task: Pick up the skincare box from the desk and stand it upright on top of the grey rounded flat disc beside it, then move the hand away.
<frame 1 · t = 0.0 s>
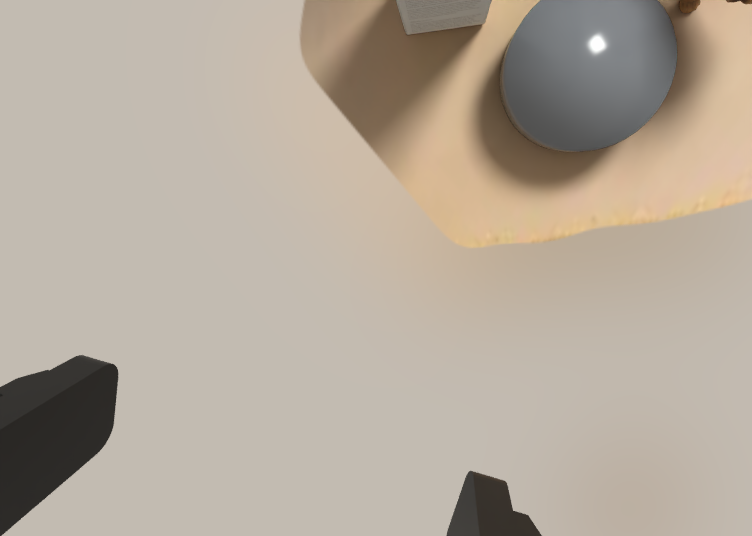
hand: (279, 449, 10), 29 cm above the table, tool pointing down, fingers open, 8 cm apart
grey rounded flat disc: (575, 75, 34), on the table
skincare box: (442, 1, 34), on the table
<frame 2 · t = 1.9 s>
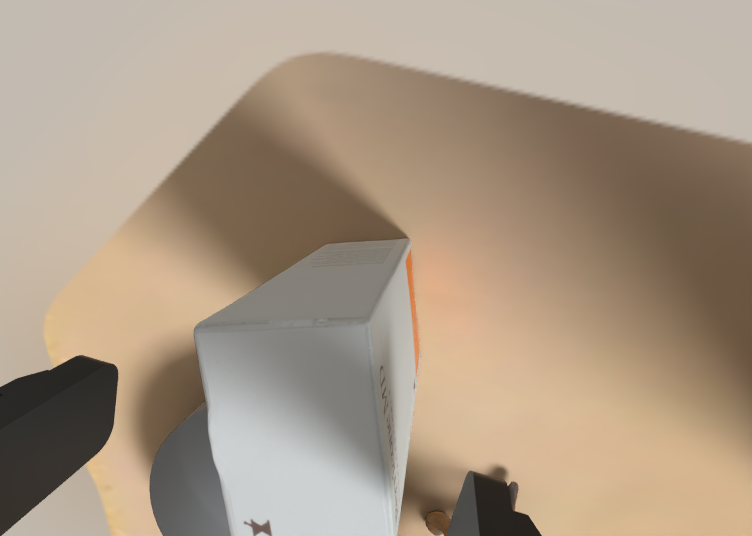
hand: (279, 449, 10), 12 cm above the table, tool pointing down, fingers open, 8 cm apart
grey rounded flat disc: (276, 470, 25), on the table
skincare box: (375, 297, 22), on the table
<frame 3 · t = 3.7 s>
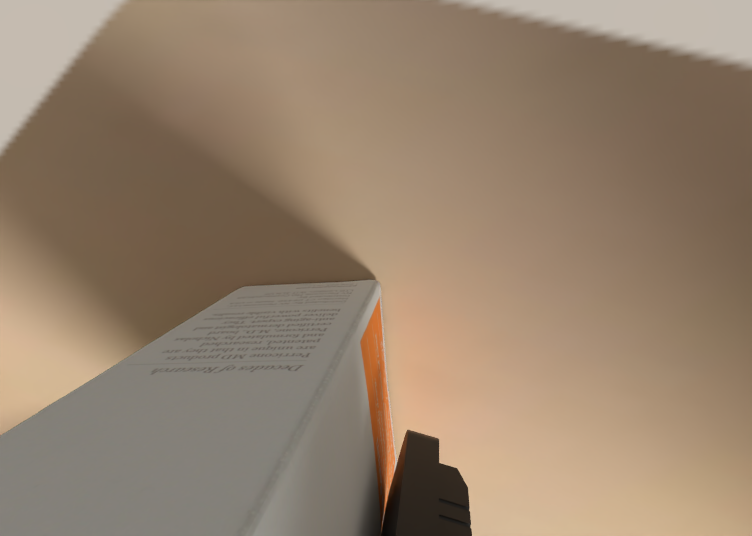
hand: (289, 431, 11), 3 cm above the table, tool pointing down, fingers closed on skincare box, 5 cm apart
skincare box: (324, 370, 14), on the table, touching gripper
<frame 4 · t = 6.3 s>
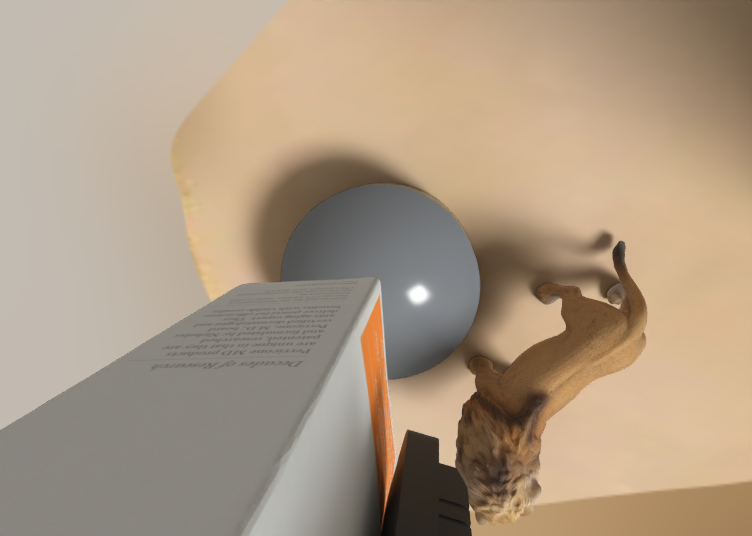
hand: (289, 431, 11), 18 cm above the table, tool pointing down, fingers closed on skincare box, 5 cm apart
lion figurine: (534, 347, 28), on the table
grey rounded flat disc: (384, 274, 28), on the table
skincare box: (324, 368, 14), point 14 cm above the table, touching gripper
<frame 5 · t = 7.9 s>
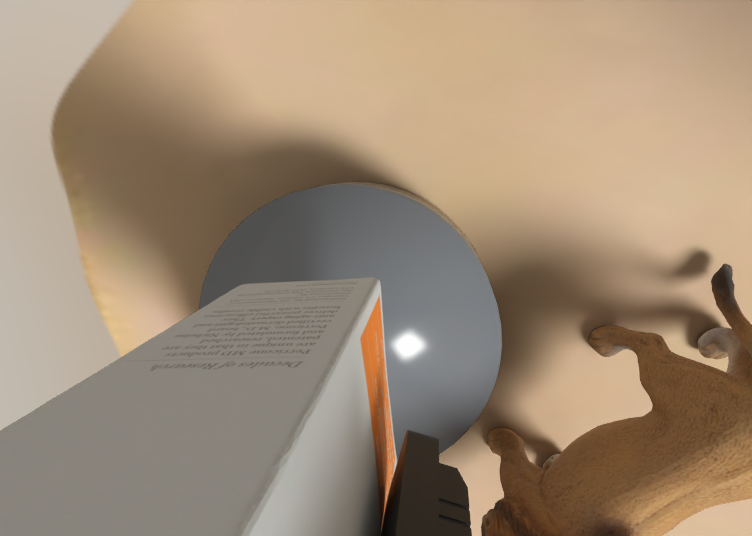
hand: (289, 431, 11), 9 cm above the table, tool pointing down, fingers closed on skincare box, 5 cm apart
lion figurine: (584, 415, 19), on the table
grey rounded flat disc: (358, 314, 19), on the table
skincare box: (324, 368, 14), point 6 cm above the table, touching gripper
when the fingers open (7 cm above the table, at t = 9.1 s): skincare box drops 1 cm, resting on grey rounded flat disc.
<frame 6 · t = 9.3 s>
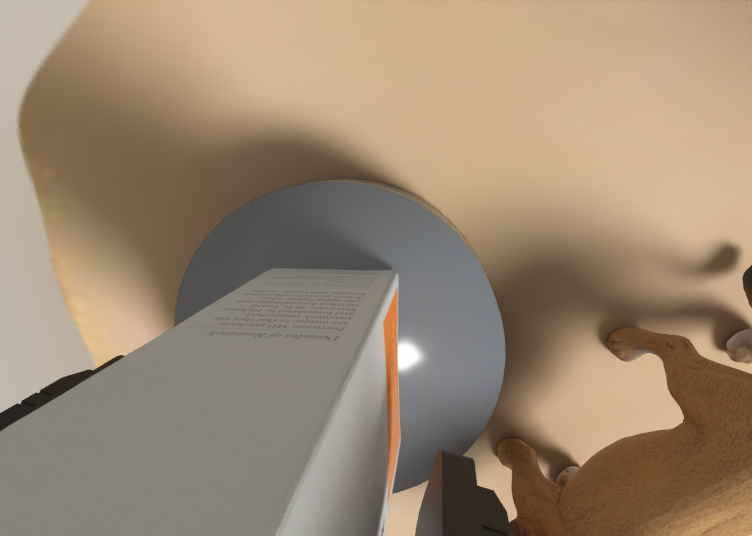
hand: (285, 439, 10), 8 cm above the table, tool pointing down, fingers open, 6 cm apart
lion figurine: (601, 424, 17), on the table
grey rounded flat disc: (349, 321, 18), on the table
skincare box: (340, 350, 15), point 3 cm above the table, touching grey rounded flat disc
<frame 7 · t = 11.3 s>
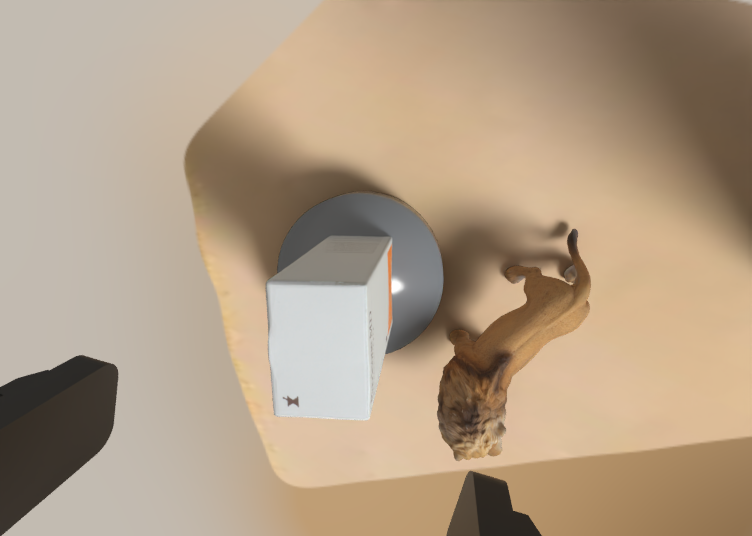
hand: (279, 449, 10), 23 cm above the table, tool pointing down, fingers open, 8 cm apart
lion figurine: (505, 321, 32), on the table
grey rounded flat disc: (365, 268, 32), on the table
skincare box: (362, 277, 30), point 3 cm above the table, touching grey rounded flat disc
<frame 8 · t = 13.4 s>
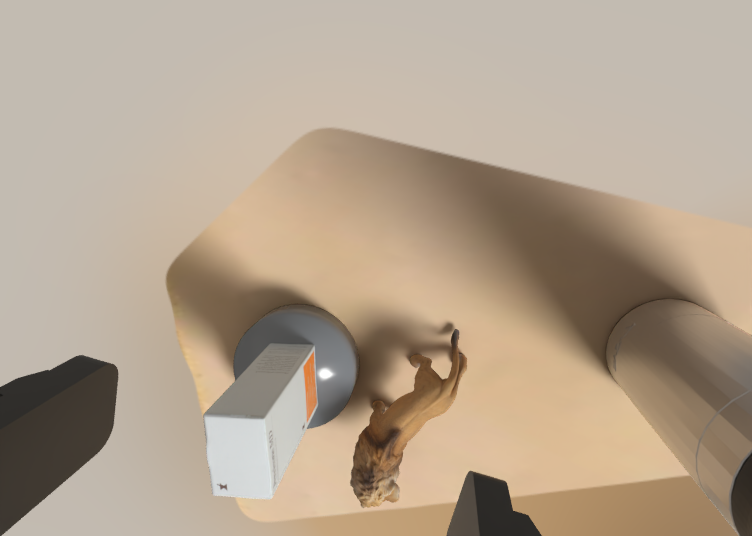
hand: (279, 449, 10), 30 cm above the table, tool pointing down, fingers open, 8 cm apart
lion figurine: (413, 393, 42), on the table
grey rounded flat disc: (302, 359, 43), on the table
skincare box: (295, 372, 40), point 3 cm above the table, touching grey rounded flat disc
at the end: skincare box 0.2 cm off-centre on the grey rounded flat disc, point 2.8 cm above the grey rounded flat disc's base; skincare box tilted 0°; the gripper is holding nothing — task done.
